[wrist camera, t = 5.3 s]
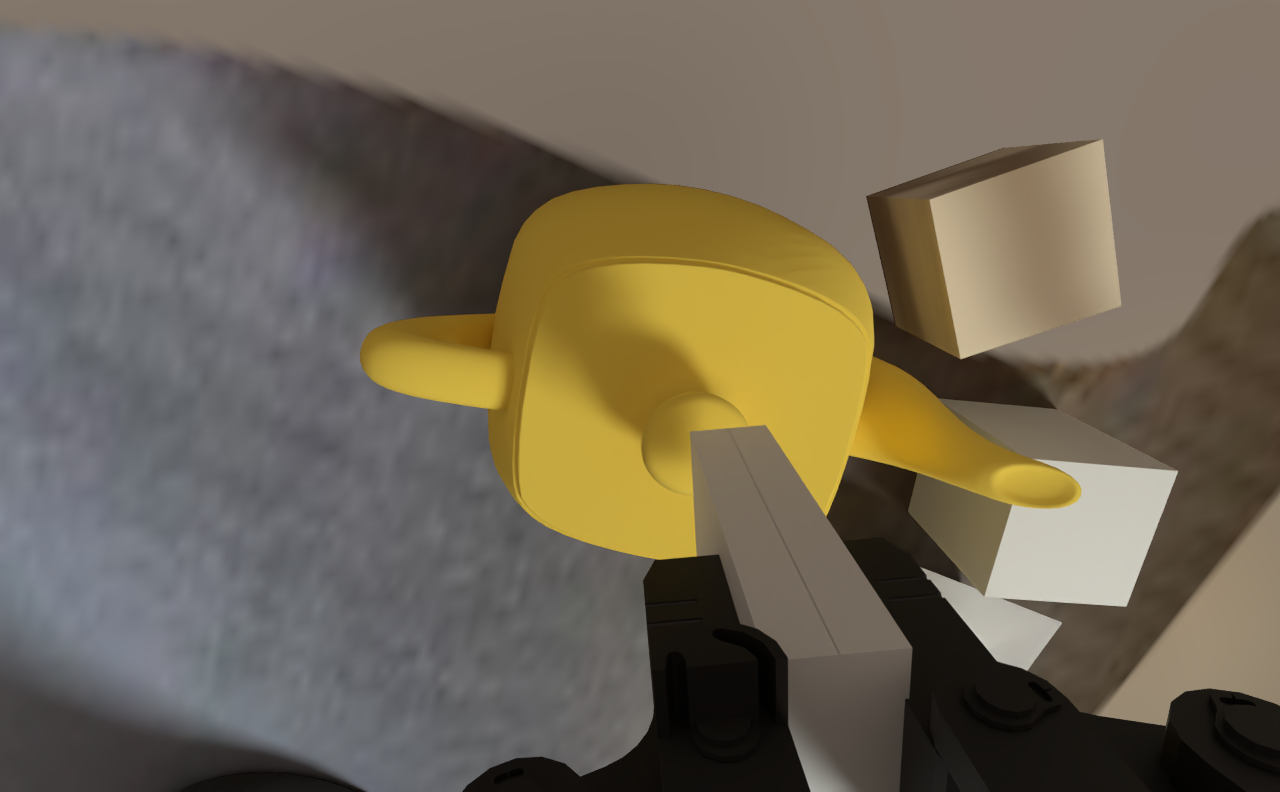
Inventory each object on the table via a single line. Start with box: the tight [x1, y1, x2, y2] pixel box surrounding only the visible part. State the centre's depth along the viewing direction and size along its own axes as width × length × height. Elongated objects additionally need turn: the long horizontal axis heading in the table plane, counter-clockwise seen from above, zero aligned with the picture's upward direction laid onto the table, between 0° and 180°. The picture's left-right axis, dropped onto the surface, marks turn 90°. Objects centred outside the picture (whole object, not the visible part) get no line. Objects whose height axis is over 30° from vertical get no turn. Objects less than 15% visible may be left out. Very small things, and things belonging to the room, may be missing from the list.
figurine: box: [920, 567, 1062, 671], centre depth 22 cm, size 7×9×15 cm
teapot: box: [360, 184, 1082, 560], centre depth 20 cm, size 18×11×11 cm, turn 79°
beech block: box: [866, 139, 1121, 359], centre depth 22 cm, size 5×5×5 cm
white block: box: [908, 399, 1178, 607], centre depth 24 cm, size 5×5×6 cm
